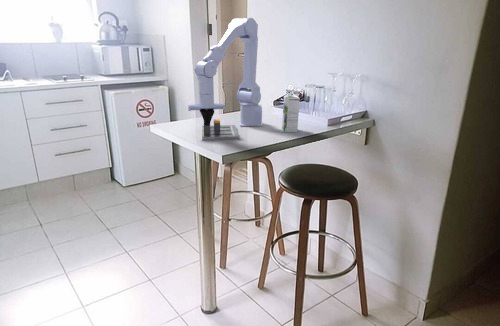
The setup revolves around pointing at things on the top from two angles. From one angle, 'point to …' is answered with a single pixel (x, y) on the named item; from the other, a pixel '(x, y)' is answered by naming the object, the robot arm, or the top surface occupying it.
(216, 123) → the toggle
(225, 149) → the top surface
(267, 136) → the top surface
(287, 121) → the syrup box
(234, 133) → the panel
